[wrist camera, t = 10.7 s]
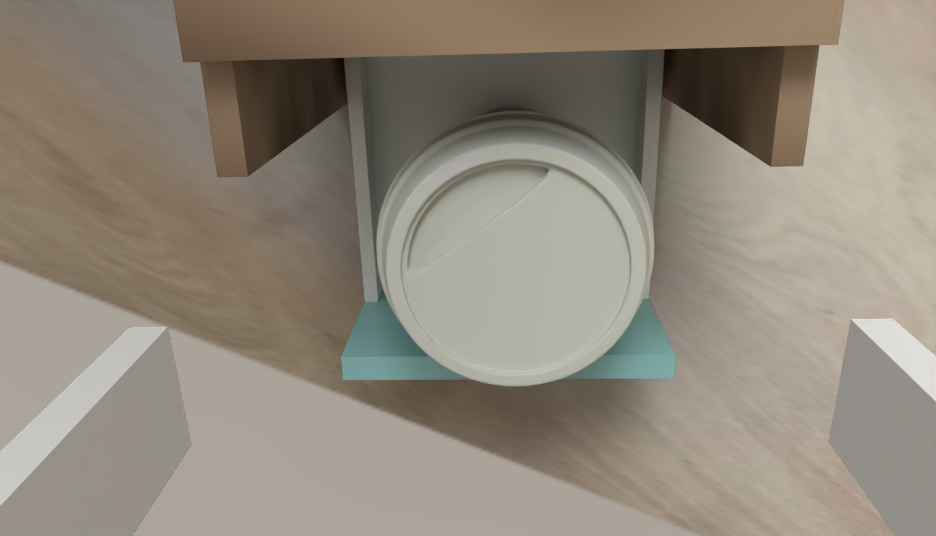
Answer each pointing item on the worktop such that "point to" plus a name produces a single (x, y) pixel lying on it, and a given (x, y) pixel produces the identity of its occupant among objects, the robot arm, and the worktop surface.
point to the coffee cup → (515, 247)
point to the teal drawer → (470, 95)
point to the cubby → (503, 31)
